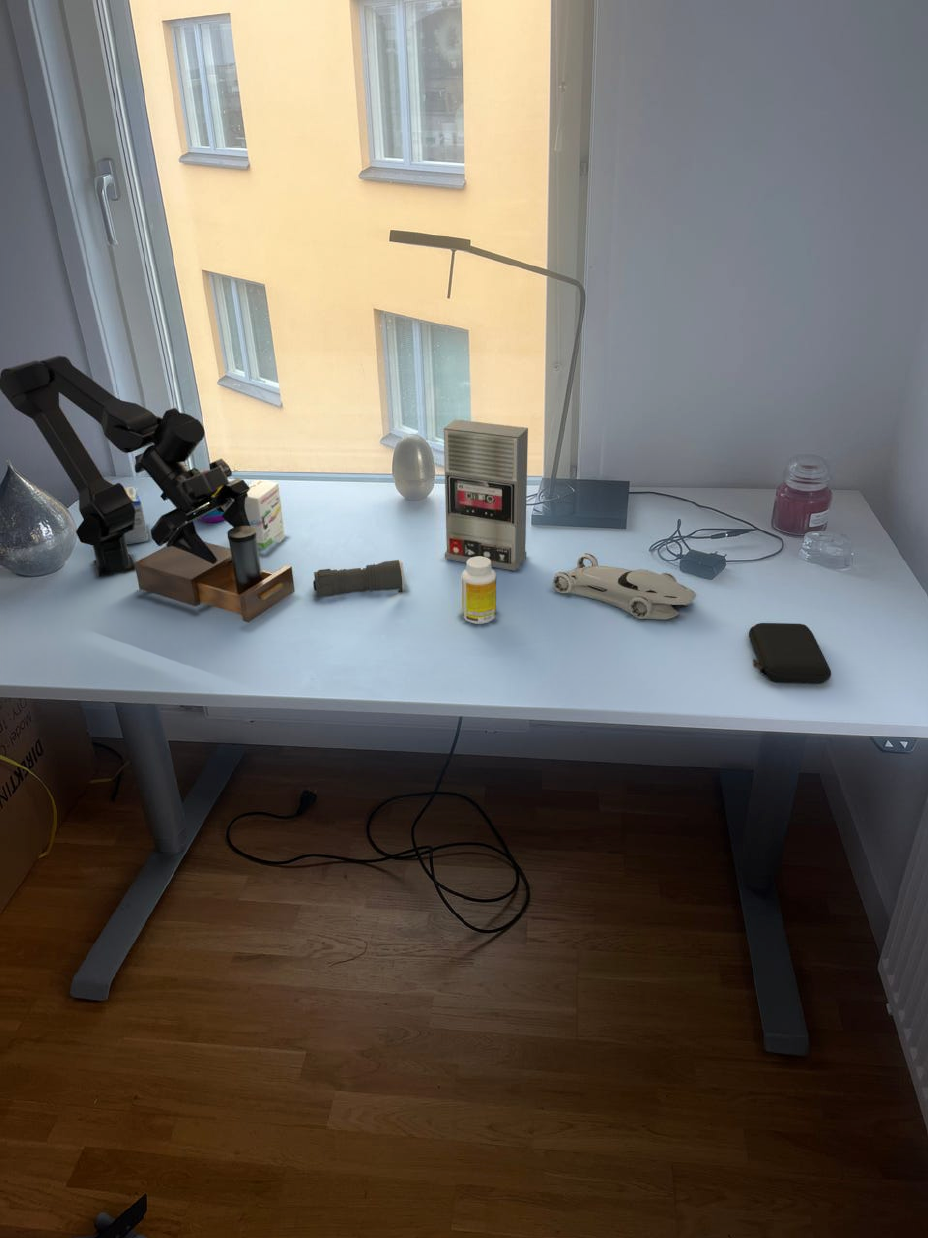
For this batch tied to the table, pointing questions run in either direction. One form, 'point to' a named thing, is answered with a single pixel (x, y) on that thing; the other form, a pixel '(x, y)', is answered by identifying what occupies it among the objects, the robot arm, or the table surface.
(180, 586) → the drawer unit
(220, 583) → the drawer
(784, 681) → the carrying case
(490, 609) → the supplement bottle
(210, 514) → the decorative egg
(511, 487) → the cassette tape recorder
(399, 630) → the table surface
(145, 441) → the robot arm
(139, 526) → the medicine box
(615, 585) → the car model
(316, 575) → the flashlight
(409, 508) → the table surface
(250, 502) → the ink box
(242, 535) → the canister
